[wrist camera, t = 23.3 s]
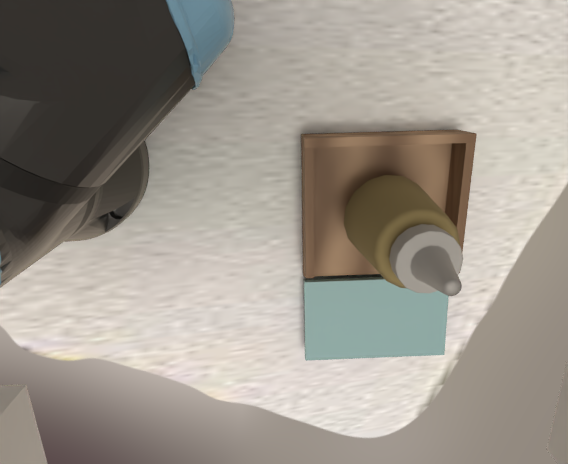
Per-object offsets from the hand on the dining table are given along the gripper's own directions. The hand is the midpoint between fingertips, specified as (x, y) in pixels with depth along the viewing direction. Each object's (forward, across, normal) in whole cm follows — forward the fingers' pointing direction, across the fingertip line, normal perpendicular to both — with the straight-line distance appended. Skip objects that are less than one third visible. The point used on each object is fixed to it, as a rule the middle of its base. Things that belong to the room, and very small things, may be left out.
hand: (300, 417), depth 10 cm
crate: (+33, +10, -4) cm, 34 cm away
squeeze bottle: (+32, +10, -4) cm, 34 cm away
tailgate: (+32, +10, -11) cm, 35 cm away
